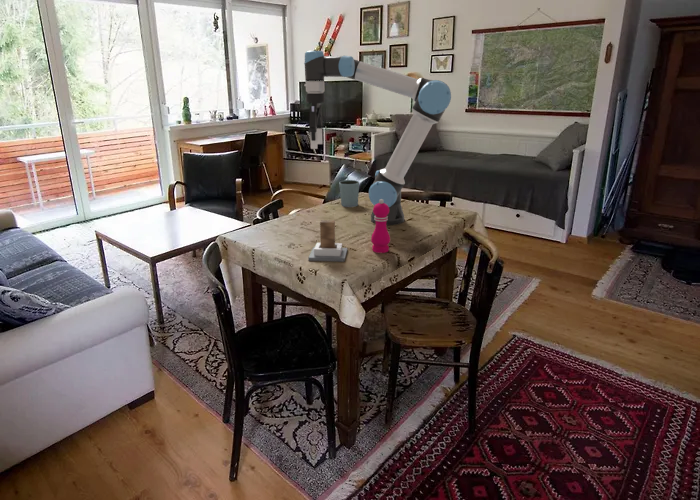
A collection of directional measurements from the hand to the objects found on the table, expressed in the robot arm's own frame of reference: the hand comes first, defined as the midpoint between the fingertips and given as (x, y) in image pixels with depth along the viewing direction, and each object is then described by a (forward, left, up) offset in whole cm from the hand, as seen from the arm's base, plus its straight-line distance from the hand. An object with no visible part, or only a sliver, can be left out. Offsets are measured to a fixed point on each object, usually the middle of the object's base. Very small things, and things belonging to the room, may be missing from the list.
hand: (316, 146), depth 194 cm
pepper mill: (-28, +29, -35) cm, 53 cm away
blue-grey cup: (-10, -36, -35) cm, 51 cm away
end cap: (-9, +36, -35) cm, 51 cm away
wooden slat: (-9, +36, -34) cm, 50 cm away
